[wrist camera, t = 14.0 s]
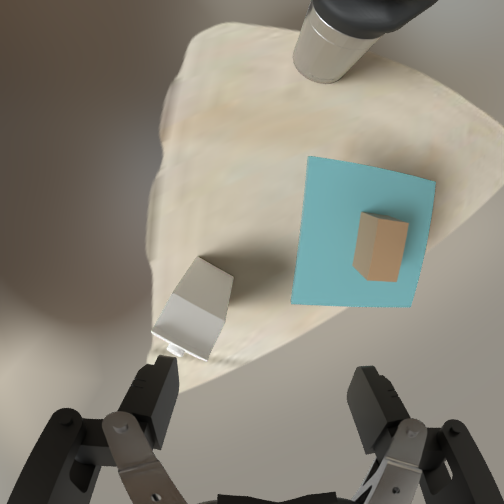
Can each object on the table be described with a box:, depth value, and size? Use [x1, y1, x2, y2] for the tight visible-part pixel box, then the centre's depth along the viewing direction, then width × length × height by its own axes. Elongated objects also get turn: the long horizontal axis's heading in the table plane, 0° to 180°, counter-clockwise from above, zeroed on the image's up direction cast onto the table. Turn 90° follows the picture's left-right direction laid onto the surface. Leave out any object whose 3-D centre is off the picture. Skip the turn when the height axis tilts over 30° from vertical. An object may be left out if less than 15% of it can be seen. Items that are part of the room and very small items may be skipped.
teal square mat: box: [291, 156, 436, 307], centre depth 26 cm, size 16×16×5 cm
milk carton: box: [151, 257, 234, 362], centre depth 37 cm, size 7×7×19 cm
